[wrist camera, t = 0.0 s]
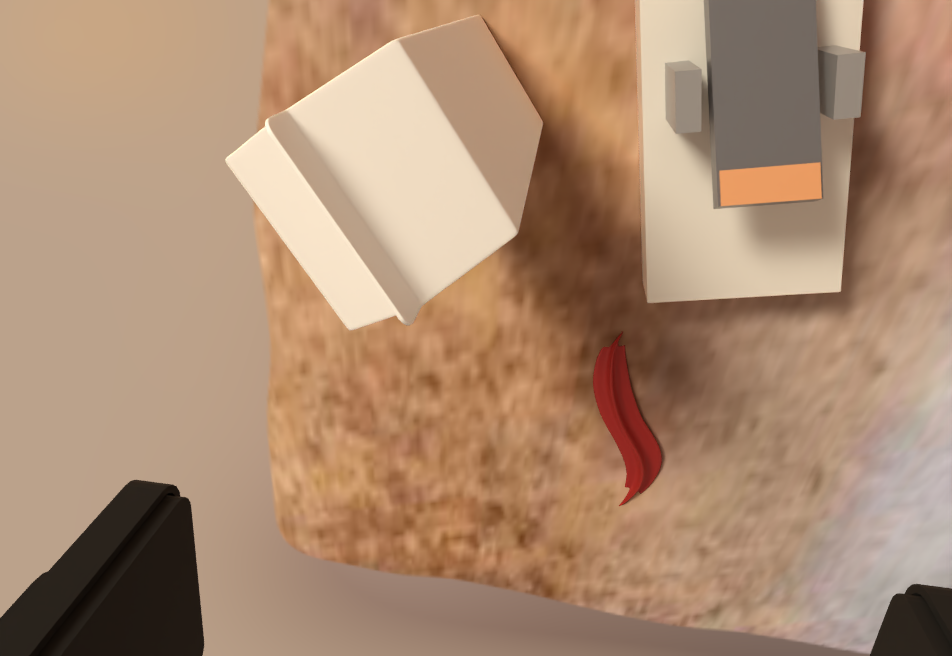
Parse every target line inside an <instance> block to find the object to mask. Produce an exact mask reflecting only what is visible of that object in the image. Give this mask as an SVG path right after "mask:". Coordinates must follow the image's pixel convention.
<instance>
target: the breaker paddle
mask: <svg viewBox="0 0 952 656" xmlns="http://www.w3.org/2000/svg"><path fill="white" fill-rule="evenodd" d="M704 18H705V40H706V61H707V82H708V104H709V125H710V146H711V168H712V189H713V209H723V208H736V207H749V206H763V205H776V204H789V203H802V202H815V201H818V200H821V199H823V175H822V149H821V123H820V98H819V72H818V46H817V21H816V0H704Z"/></svg>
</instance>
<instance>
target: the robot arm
mask: <svg viewBox="0 0 952 656" xmlns="http://www.w3.org/2000/svg"><path fill="white" fill-rule="evenodd" d="M203 649H204V636H203V625H202V615H201V605H200V595H199V584H198V574H197V564H196V553H195V543H194V533H193V522H192V512H191V504H190V501H189V499H188V498H186V497H180V492H179V490H178V488H177V487H176V486H174V485H170V484H163V483H155V482H148V481H141V480H133V481H130V482H129V483H128V484H127V485H125V487H124V488H123V489H122V490H121V491H120V492H119V493H118V494H117V495H116V497H115V498H114V499H113V500H112V501H111V502H110V503H109V504H108V506H107V507H106V508H105V509H104V510H103V511H102V512H101V513H100V514H99V515H98V517H97V518H96V519H95V520H94V521H93V522H92V523H91V524H90V525H89V527H88V528H87V529H86V530H85V531H84V533H82V534H81V536H80V537H79V538H78V539H77V540H76V541H75V542H74V543H73V544H72V546H71V547H70V548H69V549H68V550H67V551H66V552H65V553H64V554H63V556H62V557H61V558H60V559H59V560H58V561H57V562H56V563H55V564H54V566H53V567H52V568H51V569H50V570H49V571H48V572H45V573H43V574H42V575H41V576H40V577H39V578H37V579H36V580H35V581H34V582H33V583H32V584H31V585H30V586H29V587H28V589H26V591H25V592H24V593H23V594H22V595H21V596H20V597H19V598H18V599H17V600H16V601H15V603H14V604H13V605H12V606H11V607H10V608H9V609H8V610H7V611H6V613H5V614H4V615H3V616H2V617H1V618H0V656H202V655H203ZM870 656H952V589H951V588H943V587H936V586H928V585H921V584H913V585H911V586H910V587H909V588H908V589H907V590H906V592H905V594H896V595H894V596H893V598H892V600H891V602H890V604H889V607H888V609H887V612H886V615H885V617H884V620H883V622H882V625H881V628H880V630H879V633H878V636H877V638H876V641H875V643H874V646H873V649H872V651H871V654H870Z"/></svg>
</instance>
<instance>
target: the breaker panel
mask: <svg viewBox="0 0 952 656" xmlns="http://www.w3.org/2000/svg"><path fill="white" fill-rule="evenodd" d="M863 1H864V0H816V21H817V46H818V72H819V98H820V123H821V149H822V175H823V199H821V200H818V201H815V202H802V203H789V204H776V205H763V206H749V207H736V208H723V209H713V189H712V168H711V146H710V125H709V104H708V82H707V61H706V40H705V18H704V0H635V28H636V64H637V100H638V136H639V171H640V207H641V243H642V278H643V286H644V290H645V295H646V299H647V303H658V302H675V301H692V300H709V299H726V298H743V297H760V296H777V295H795V294H812V293H829V292H841V281H842V268H843V255H844V243H845V230H846V217H847V204H848V192H849V179H850V166H851V153H852V141H853V128H854V118H858V117H861V105H862V93H863V81H864V69H865V56H866V52H863V51H860V39H861V26H862V13H863Z"/></svg>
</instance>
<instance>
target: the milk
mask: <svg viewBox="0 0 952 656" xmlns="http://www.w3.org/2000/svg"><path fill="white" fill-rule="evenodd" d="M542 127H543V121H542V119H541V118H540V116H539V114H538V112H537V111H536V109H535V107H534V106H533V104H532V102H531V100H530V99H529V97H528V95H527V94H526V92H525V90H524V89H523V87H522V85H521V83H520V82H519V80H518V78H517V77H516V75H515V73H514V72H513V70H512V68H511V66H510V65H509V63H508V61H507V60H506V58H505V56H504V55H503V53H502V51H501V49H500V48H499V46H498V44H497V43H496V41H495V39H494V37H493V36H492V34H491V32H490V31H489V29H488V27H487V26H486V24H485V22H484V20H483V19H482V17H481V16H480V15H475V16H472V17H469V18H465V19H462V20H458V21H455V22H452V23H448V24H445V25H442V26H438V27H435V28H432V29H428V30H425V31H422V32H418V33H415V34H411V35H408V36H405V37H401V38H398V39H395V40H393V41H391V42H389V43H388V44H386V45H385V46H383V47H382V48H380V49H379V50H377V51H375V52H374V53H372V54H371V55H369V56H368V57H366V58H365V59H363V60H362V61H360V62H359V63H357V64H356V65H354V66H352V67H351V68H349V69H348V70H346V71H345V72H343V73H342V74H340V75H339V76H337V77H336V78H334V79H332V80H331V81H329V82H328V83H326V84H325V85H323V86H322V87H320V88H319V89H317V90H316V91H314V92H313V93H311V94H309V95H308V96H306V97H305V98H303V99H302V100H300V101H299V102H297V103H296V104H294V105H293V106H291V107H290V108H288V109H286V110H284V111H282V112H280V113H278V114H275V115H273V116H271V117H269V118H268V119H266V122H265V127H264V128H263V129H261V130H260V131H259V132H258V133H256V134H255V135H254V136H253V137H252V138H251V139H249V140H248V141H247V142H245V143H244V144H243V145H242V146H240V147H239V148H238V149H237V150H235V151H234V152H233V153H232V154H231V155H229V156H228V157H227V158H226V160H225V161H226V163H227V165H228V166H229V168H230V169H231V170H232V172H233V173H234V174H235V176H236V177H237V178H238V180H239V181H240V183H241V184H242V185H243V187H244V188H245V189H246V191H247V192H248V193H249V195H250V196H251V198H252V199H253V200H254V202H255V203H256V204H257V206H258V207H259V209H260V210H261V211H262V213H263V214H264V215H265V217H266V218H267V219H268V221H269V222H270V224H271V225H272V226H273V228H274V229H275V230H276V232H277V233H278V234H279V236H280V237H281V239H282V240H283V241H284V243H285V244H286V245H287V247H288V248H289V249H290V251H291V252H292V254H293V255H294V256H295V258H296V259H297V260H298V262H299V263H300V265H301V266H302V267H303V269H304V270H305V271H306V273H307V274H308V275H309V277H310V278H311V280H312V281H313V282H314V284H315V285H316V286H317V288H318V289H319V290H320V292H321V293H322V295H323V296H324V297H325V299H326V300H327V301H328V303H329V304H330V305H331V307H332V308H333V310H334V311H335V312H336V314H337V315H338V316H339V318H340V319H341V320H342V322H343V323H344V325H345V326H346V327H347V328H348V329H349V330H355V329H358V328H361V327H364V326H367V325H370V324H373V323H376V322H378V321H381V320H384V319H387V318H390V317H393V316H397V317H398V319H399V320H400V321H401V322H402V323H403V324H405V325H411V324H413V322H414V320H415V318H416V316H417V314H418V312H419V310H420V308H421V307H422V306H423V305H424V304H425V303H427V302H428V301H429V300H431V299H432V298H433V297H435V296H436V295H437V294H439V293H440V292H441V291H443V290H444V289H445V288H447V287H448V286H449V285H451V284H452V283H453V282H455V281H456V280H457V279H459V278H460V277H462V276H463V275H464V274H466V273H467V272H468V271H470V270H471V269H472V268H474V267H475V266H476V265H478V264H479V263H480V262H482V261H483V260H484V259H486V258H487V257H488V256H490V255H491V254H492V253H494V252H495V251H497V250H498V249H499V248H501V247H502V246H503V245H505V244H506V243H507V242H509V241H510V240H511V239H513V238H514V237H515V236H516V235H517V234H518V232H519V227H520V223H521V219H522V214H523V210H524V206H525V201H526V197H527V192H528V188H529V184H530V179H531V175H532V170H533V166H534V162H535V157H536V153H537V149H538V144H539V140H540V135H541V131H542Z"/></svg>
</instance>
